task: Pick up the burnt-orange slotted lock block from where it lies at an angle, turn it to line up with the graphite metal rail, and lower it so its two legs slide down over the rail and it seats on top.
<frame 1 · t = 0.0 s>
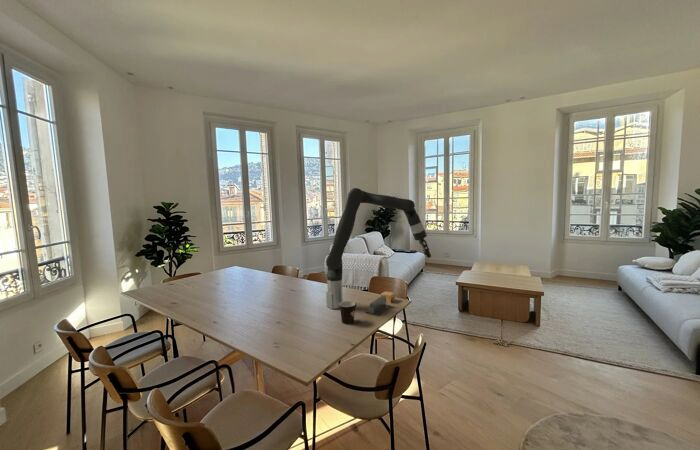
hand: (428, 255, 182), 31 cm above the table, tool tilted 20°, fingers open, 8 cm apart
coffee mug: (350, 321, 167), on the table
lock block: (387, 300, 197), on the table
rail: (378, 309, 182), on the table
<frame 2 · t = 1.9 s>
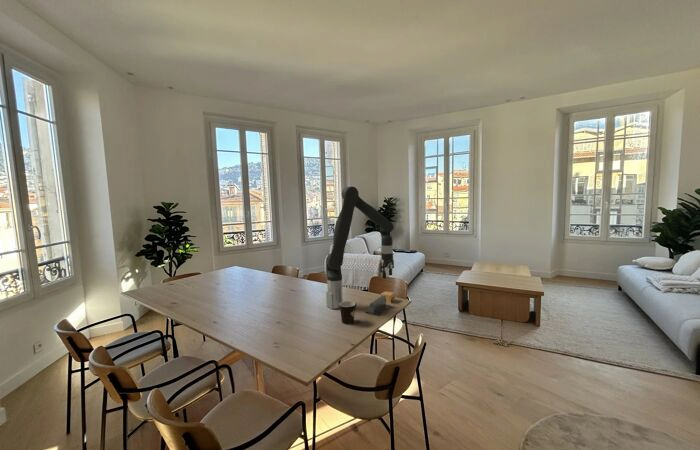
hand: (387, 276, 196), 16 cm above the table, tool pointing down, fingers open, 8 cm apart
nothing on the table moved.
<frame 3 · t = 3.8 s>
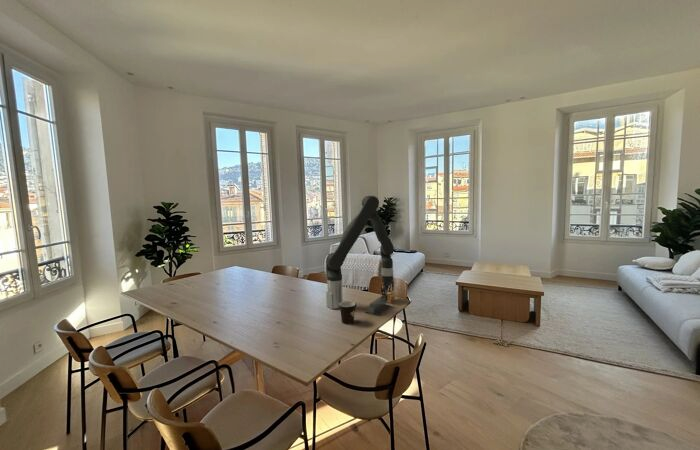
hand: (387, 299, 197), 1 cm above the table, tool pointing down, fingers closed on lock block, 6 cm apart
lock block: (387, 300, 198), on the table, touching gripper
everything else where it was.
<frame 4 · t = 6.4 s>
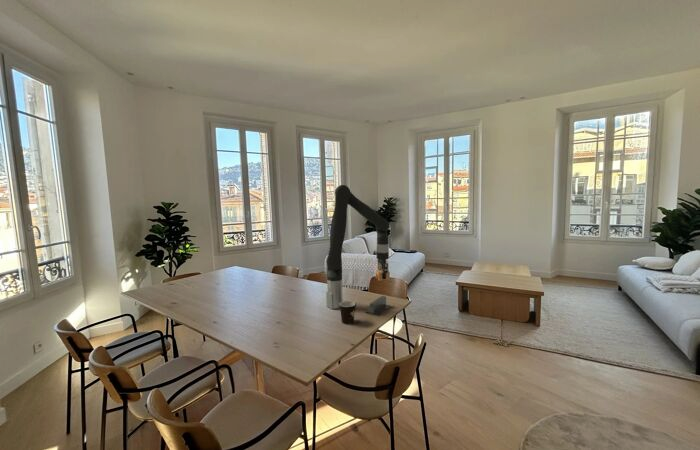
hand: (382, 277, 190), 17 cm above the table, tool pointing down, fingers closed on lock block, 6 cm apart
lock block: (382, 278, 190), point 16 cm above the table, touching gripper
everything else where it was.
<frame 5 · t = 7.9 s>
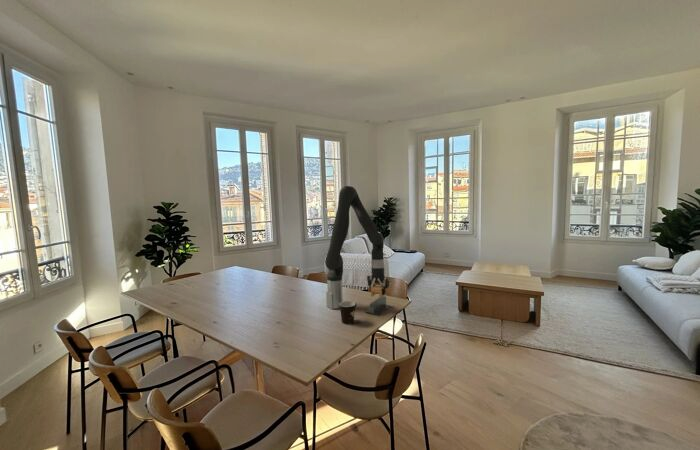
hand: (378, 293, 181), 10 cm above the table, tool pointing down, fingers closed on lock block, 6 cm apart
lock block: (378, 295, 181), point 9 cm above the table, touching gripper
everything else where it was.
when the fingers open (5 cm above the table, at t = 9.3 s): lock block drops 1 cm, resting on rail.
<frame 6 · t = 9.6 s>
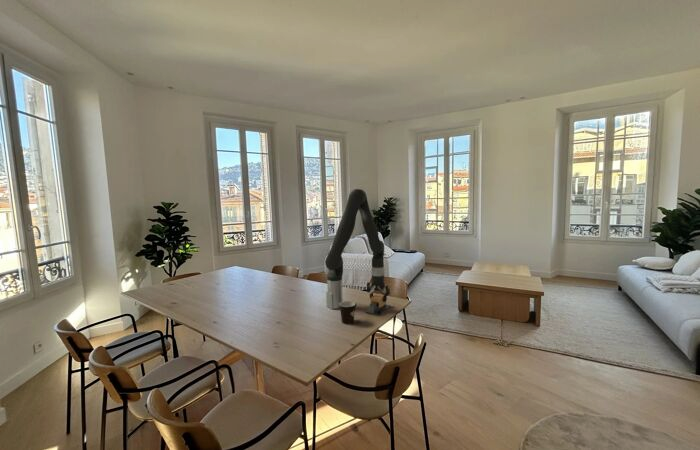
hand: (378, 300, 182), 6 cm above the table, tool pointing down, fingers open, 8 cm apart
lock block: (378, 304, 182), point 3 cm above the table, touching rail
everything else where it was.
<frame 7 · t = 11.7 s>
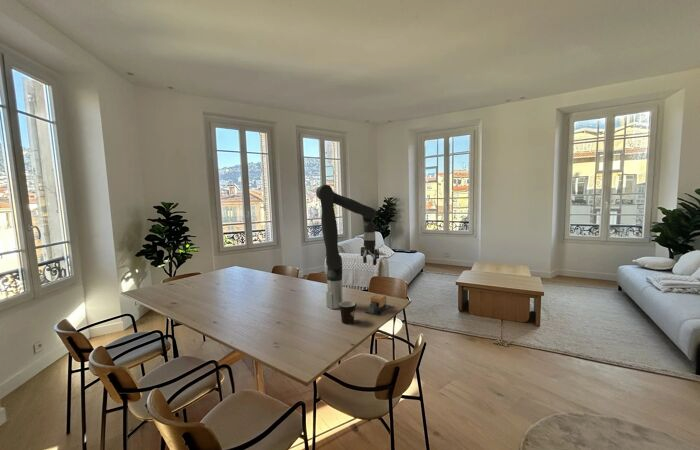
hand: (369, 264, 195), 24 cm above the table, tool pointing down, fingers open, 8 cm apart
nothing on the table moved.
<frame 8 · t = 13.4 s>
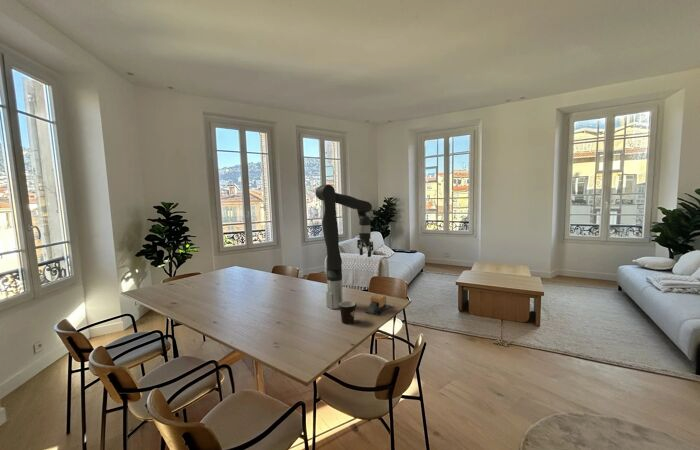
hand: (365, 256, 204), 28 cm above the table, tool pointing down, fingers open, 8 cm apart
nothing on the table moved.
at the end: lock block 0.1 cm off-centre on the rail, point 3.0 cm above the rail's base; lock block tilted 0°; the gripper is holding nothing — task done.
